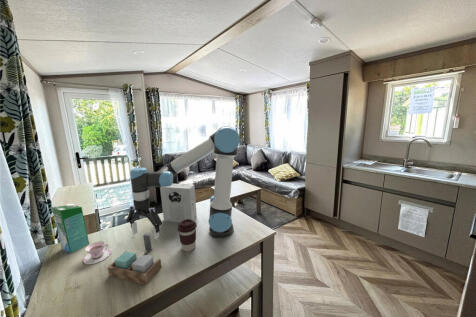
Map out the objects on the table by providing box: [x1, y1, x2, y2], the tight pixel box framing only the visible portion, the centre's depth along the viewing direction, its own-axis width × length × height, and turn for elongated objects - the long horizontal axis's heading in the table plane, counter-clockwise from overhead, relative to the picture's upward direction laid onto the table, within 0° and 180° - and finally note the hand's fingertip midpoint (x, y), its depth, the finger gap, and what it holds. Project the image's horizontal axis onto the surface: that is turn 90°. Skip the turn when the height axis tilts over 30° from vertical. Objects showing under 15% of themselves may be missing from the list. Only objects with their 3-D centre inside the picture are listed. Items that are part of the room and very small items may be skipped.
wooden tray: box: [107, 258, 162, 285], centre depth 87 cm, size 20×10×4 cm, turn 75°
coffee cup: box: [177, 219, 198, 252], centre depth 102 cm, size 10×10×15 cm
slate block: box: [132, 254, 155, 273], centre depth 85 cm, size 6×6×7 cm
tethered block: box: [114, 232, 153, 269], centre depth 94 cm, size 6×19×9 cm, turn 165°
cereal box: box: [159, 183, 198, 223], centre depth 130 cm, size 22×8×25 cm, turn 77°
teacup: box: [82, 240, 113, 265], centre depth 98 cm, size 12×12×6 cm
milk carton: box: [51, 203, 90, 254], centre depth 104 cm, size 9×9×25 cm
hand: (145, 235), depth 100 cm, fingers open, 13 cm apart
